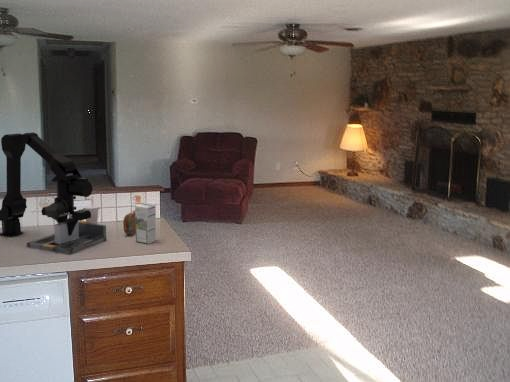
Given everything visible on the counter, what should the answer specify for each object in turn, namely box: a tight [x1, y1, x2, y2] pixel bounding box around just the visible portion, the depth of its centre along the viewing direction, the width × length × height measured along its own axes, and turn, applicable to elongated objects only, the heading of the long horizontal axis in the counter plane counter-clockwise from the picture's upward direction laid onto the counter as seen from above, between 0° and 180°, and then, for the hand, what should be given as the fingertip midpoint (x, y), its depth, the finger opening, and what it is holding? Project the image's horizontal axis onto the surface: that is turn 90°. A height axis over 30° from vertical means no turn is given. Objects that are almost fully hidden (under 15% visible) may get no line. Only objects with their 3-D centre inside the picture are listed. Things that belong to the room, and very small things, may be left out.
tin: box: [122, 209, 136, 236], centre depth 222 cm, size 15×3×8 cm, turn 168°
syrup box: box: [134, 202, 157, 245], centre depth 209 cm, size 6×6×14 cm
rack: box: [26, 220, 107, 256], centre depth 204 cm, size 20×20×6 cm
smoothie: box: [82, 195, 100, 224], centre depth 224 cm, size 6×6×14 cm
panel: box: [53, 221, 80, 245], centre depth 204 cm, size 2×10×7 cm, turn 157°
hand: (67, 235), depth 204 cm, fingers closed on panel, 2 cm apart
